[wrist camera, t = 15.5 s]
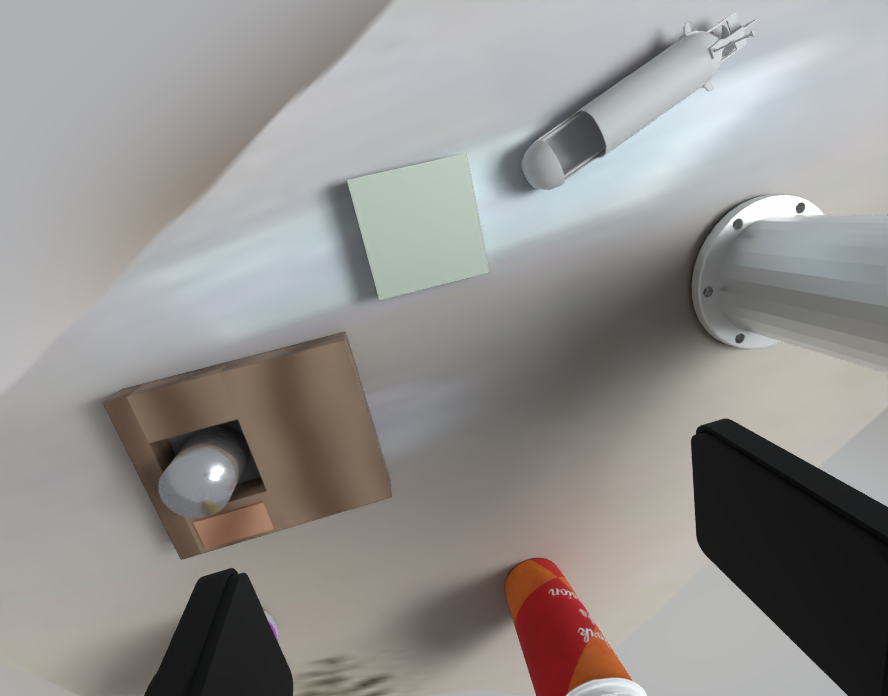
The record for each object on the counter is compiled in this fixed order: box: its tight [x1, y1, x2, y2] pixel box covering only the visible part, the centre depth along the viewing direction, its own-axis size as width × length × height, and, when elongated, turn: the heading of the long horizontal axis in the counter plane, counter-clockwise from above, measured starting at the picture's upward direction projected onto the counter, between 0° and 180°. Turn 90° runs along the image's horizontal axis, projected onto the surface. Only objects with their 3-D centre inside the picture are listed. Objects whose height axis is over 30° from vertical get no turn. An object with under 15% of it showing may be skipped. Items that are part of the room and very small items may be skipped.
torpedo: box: [521, 12, 759, 190], centre depth 30 cm, size 18×5×7 cm, turn 124°
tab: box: [347, 153, 490, 300], centre depth 32 cm, size 8×8×2 cm
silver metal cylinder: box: [158, 425, 250, 518], centre depth 32 cm, size 4×4×5 cm
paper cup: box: [505, 558, 647, 696], centre depth 37 cm, size 8×8×14 cm
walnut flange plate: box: [103, 332, 392, 560], centre depth 34 cm, size 16×13×3 cm
